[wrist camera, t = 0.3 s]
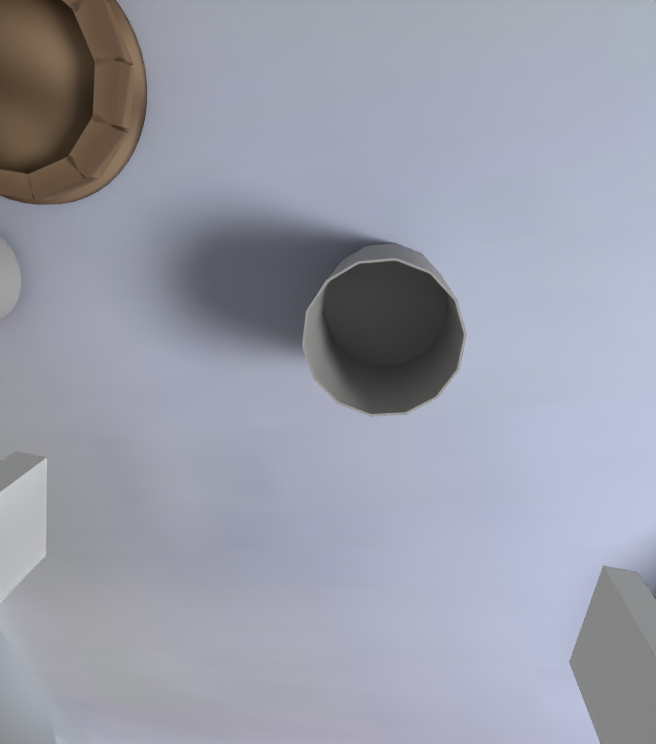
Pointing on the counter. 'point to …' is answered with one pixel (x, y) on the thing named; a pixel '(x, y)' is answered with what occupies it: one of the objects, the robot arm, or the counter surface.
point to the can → (8, 279)
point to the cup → (384, 332)
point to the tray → (67, 98)
